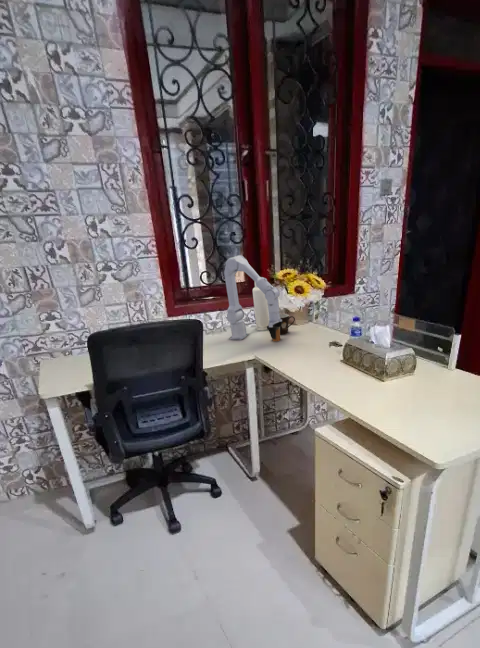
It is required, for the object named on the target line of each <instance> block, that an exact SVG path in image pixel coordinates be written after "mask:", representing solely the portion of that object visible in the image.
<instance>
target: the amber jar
mask: <svg viewBox="0 0 480 648" xmlns="http://www.w3.org/2000/svg"><path fill="white" fill-rule="evenodd" d="M275 326H277V325H275ZM281 340H282V339H281V335H280V326H278V327H277V330H276V339H272V338H271V342H280V341H281Z"/></svg>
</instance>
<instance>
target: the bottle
mask: <svg viewBox="0 0 480 648" xmlns="http://www.w3.org/2000/svg"><path fill="white" fill-rule="evenodd" d="M253 281H254V280H253ZM252 298H253V308H254V317H255V327H256V331H269V330H268V329H267V326H269V325H268V324H269V312H268V302H267V299H266V298H265V294H264V293H263V292H262V291H261V290H260V289H259V288H258V287H257V286H256V282H255V281H254V287H253V288H252Z"/></svg>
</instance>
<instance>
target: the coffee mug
mask: <svg viewBox="0 0 480 648" xmlns="http://www.w3.org/2000/svg"><path fill="white" fill-rule="evenodd" d="M279 315H280V318H281V319H282V321H283V323H282V326H281V331H280V336H284V335H288V333H289V328H290V327H291V326H292V325H293V324H294V323H295V322H296V320H295V316H293V315H289V314H287V313H279ZM290 318H293V321H292V322H291V323H290V324H289V321H290Z"/></svg>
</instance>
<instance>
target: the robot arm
mask: <svg viewBox="0 0 480 648" xmlns="http://www.w3.org/2000/svg"><path fill="white" fill-rule="evenodd" d="M238 272H243V273H245V274H246V275H247V276H248V277H250V279H252V281H255V282H256V286H257V287H258V288H259V289H260V290H261V291H262V292H263V293H264V294H265V298H266V299H267V302H268V313H269V324H268V325H269V326H267V329H268V330H267V331H268V333H269V334H270V335H269V336H270V338H271V340H272V339H276V330H277V327H278V326H280V331H281V326H282V323H283V321H282V319H281V318H280V315H279V314H280V305H279V304H280V303H279V297H280V295H281V293H280V290H279V288H278V287H275V286H274V285H272V284H271V283H270V282H269V281H268V279H267V278H266V277H263V276H260V275H259V274H258V273H257V271H256V270H255V269H254V268H253V267H252V266H251V265H250V264H249V262H248V260H247V258H246V257H244V256H243V255H242V254H238V255H235V256H233V257H228V259H227V260H226V261H225V267H224V271H223V275H224V281H225V287H226V293H227V299H228V308H227V310H226V313H227V314H226V320H227V321H228V322H229V325H230V333H231V337H229V340H241V341H242V340H243V339H245V338H246V337H247V336H248V335H249V333H247V325H246V322H245V320H244V318H245V311H244V310H243V306H242V305H241V304H240V301H239V300H240V299H239V295H238V294H239V293H238V288H237V286H238V285H237V279H236V274H237V273H238ZM255 282H254V283H255ZM275 325H277V326H275Z"/></svg>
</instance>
